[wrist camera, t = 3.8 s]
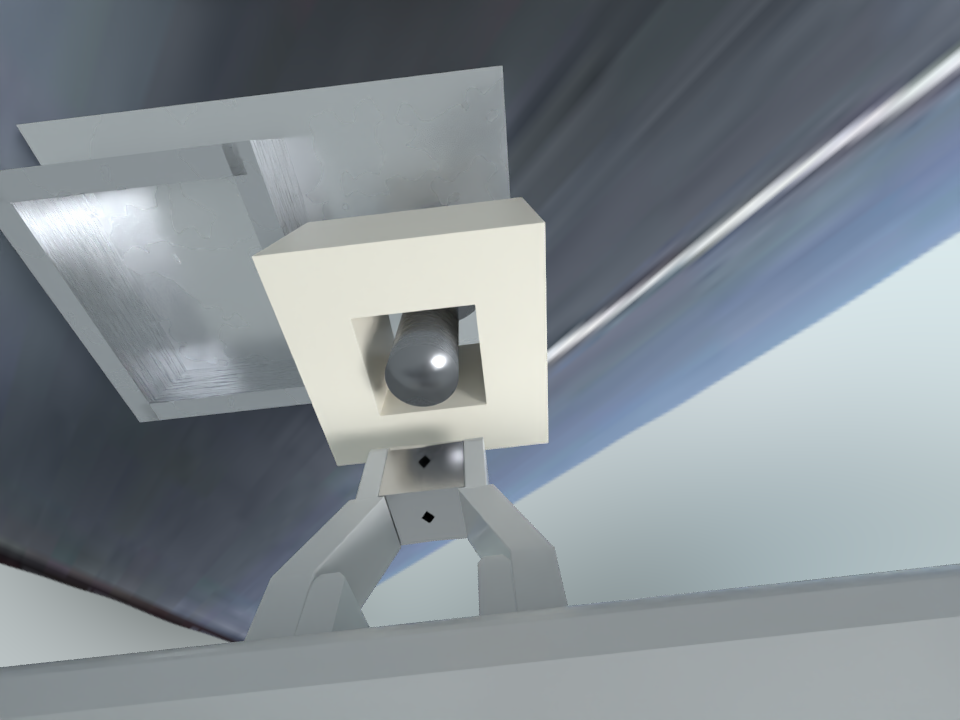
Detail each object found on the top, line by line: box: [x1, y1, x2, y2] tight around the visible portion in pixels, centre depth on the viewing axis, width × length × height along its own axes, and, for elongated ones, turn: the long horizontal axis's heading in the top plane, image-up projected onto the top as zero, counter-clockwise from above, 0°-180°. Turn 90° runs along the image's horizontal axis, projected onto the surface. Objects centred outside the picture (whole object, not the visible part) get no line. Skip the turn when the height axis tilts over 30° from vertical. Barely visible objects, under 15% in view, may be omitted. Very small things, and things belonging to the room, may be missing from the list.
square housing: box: [252, 197, 548, 466], centre depth 12 cm, size 6×6×4 cm
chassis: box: [0, 66, 510, 422], centre depth 15 cm, size 19×14×12 cm
